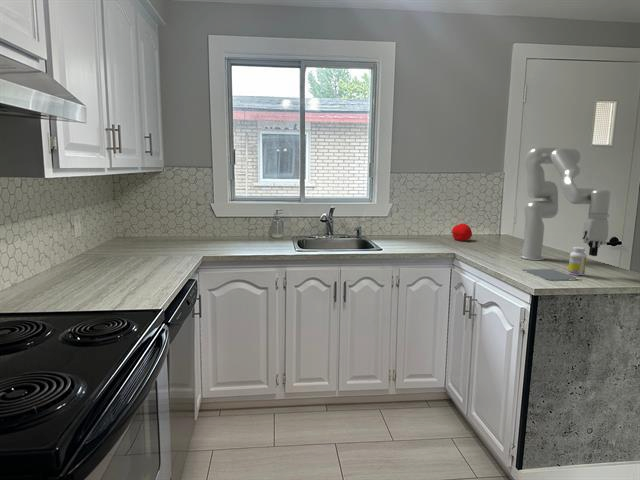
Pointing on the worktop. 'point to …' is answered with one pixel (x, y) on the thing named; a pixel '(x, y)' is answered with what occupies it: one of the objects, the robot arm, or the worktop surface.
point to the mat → (550, 274)
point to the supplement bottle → (577, 261)
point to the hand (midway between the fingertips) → (592, 255)
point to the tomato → (461, 232)
